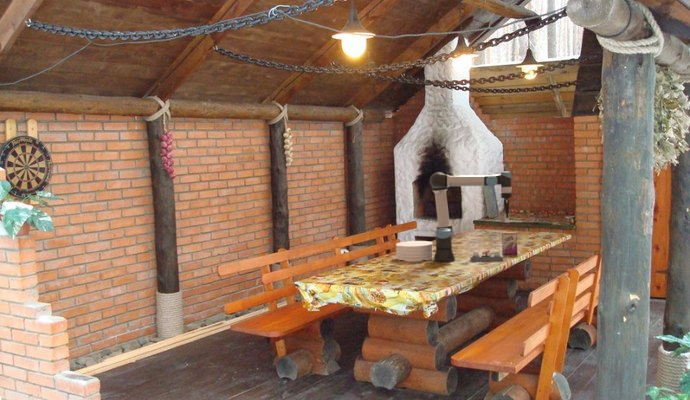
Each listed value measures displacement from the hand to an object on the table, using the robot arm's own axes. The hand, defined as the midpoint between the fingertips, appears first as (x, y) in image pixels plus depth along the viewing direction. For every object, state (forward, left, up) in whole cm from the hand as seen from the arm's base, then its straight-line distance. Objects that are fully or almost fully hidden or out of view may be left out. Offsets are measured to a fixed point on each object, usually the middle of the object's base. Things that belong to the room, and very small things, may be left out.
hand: (506, 221), depth 499 cm
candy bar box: (+2, +14, -27) cm, 30 cm away
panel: (-16, -13, -27) cm, 33 cm away
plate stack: (-69, 0, -27) cm, 74 cm away
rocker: (-16, -13, -22) cm, 29 cm away
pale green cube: (-8, -13, -24) cm, 28 cm away
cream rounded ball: (-23, -13, -24) cm, 36 cm away
